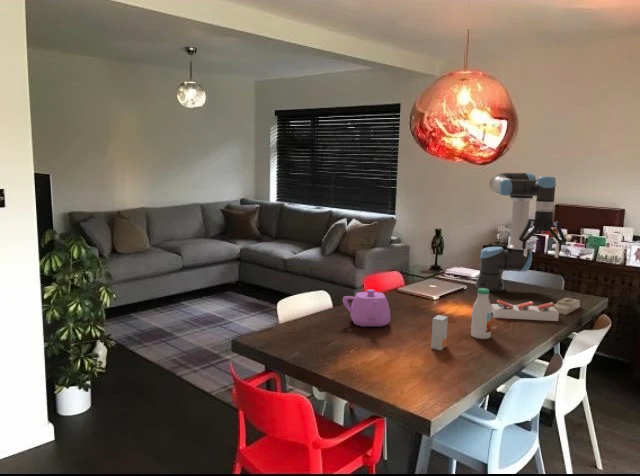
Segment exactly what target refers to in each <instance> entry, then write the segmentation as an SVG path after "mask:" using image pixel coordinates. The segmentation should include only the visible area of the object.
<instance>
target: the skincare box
mask: <svg viewBox="0 0 640 476" xmlns="http://www.w3.org/2000/svg"><path fill="white" fill-rule="evenodd" d="M448 319H449V317H448V316H446V315H440V314H438V315H437V314H436V315H435V316H434V317H433V318H432V321H431V322H432V323H431V344H430V348H431V349H433V350H438V351H443V349H444V348H445V347H447V338H448V322H449V320H448Z"/></svg>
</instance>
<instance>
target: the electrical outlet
mask: <svg viewBox="0 0 640 476" xmlns="http://www.w3.org/2000/svg"><path fill="white" fill-rule="evenodd" d="M554 305H555V306H553V307H554V308H555V309H556V310H557V311H558V312H559V315H560V314H561V315H568V314H570V313H572V312H574V311H575V310H578V309H580V305H581V300H579V299H574V298H570V297H564V298H562V299H560V300H558V301H556V303H554Z"/></svg>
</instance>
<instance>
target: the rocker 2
mask: <svg viewBox="0 0 640 476" xmlns="http://www.w3.org/2000/svg"><path fill="white" fill-rule="evenodd" d="M534 304H535V303H534V302H533V301H532V300H530V301H526V302H522V303H518V304H516V305H517V307H518V308H519V309H520V308H524V307H528V306H535V305H534Z"/></svg>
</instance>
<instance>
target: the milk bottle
mask: <svg viewBox="0 0 640 476" xmlns="http://www.w3.org/2000/svg"><path fill="white" fill-rule="evenodd" d="M489 296H490V291H489V289H486V288H479V289H477V297H476V300H475V301H474V303H473V305H472V311H471V328H470V335H471V337H473V338H475V339H480V340H487V339H490V338H491V335H492V317H493V315H492V307H491V304H492V303H491V302H490V299H489Z"/></svg>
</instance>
